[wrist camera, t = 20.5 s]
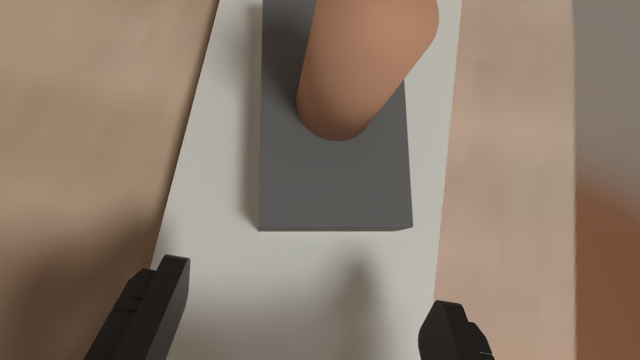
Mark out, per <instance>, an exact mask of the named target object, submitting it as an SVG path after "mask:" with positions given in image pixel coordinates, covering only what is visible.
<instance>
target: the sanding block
mask: <svg viewBox="0 0 640 360" xmlns="http://www.w3.org/2000/svg"><path fill="white" fill-rule="evenodd" d="M438 25H439V10H438V4H437V1H436V0H263V8H262V59H261V110H260V161H259V211H258V231H259V232H395V231H399V230H404V229H408V228H412V227H413V214H412V198H411V181H410V165H409V149H408V132H407V116H406V100H405V83H404V79H405V77H406V76H407V75H408V73H409V72H410V71H411V69H412V68H413V67H414V66H415V64H416V63H417V62H418V60H419V59H420V58H421V57H422V55H423V54H424V53H425V51H426V50H427V49H428V48H429V46H430V45H431V43H432V42H433V40H434V38H435V36H436V33H437V30H438Z"/></svg>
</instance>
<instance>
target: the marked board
mask: <svg viewBox="0 0 640 360" xmlns="http://www.w3.org/2000/svg"><path fill="white" fill-rule="evenodd" d="M436 1H437V4H438V10H439V25H438V30H437V33H436V36H435V38H434V40H433V42H432V43H431V45H430V46H429V48H428V49H427V50H426V51H425V53H424V54H423V55H422V57H421V58H420V59H419V60H418V62H417V63H416V64H415V66H414V67H413V68H412V69H411V71H410V72H409V73H408V75H407V76H406V77H405V79H404V83H405V100H406V116H407V132H408V149H409V165H410V181H411V198H412V214H413V227H412V228H408V229H404V230H399V231H395V232H259V231H258V211H259V161H260V110H261V59H262V8H263V0H220V2H219V5H218V9H217V13H216V17H215V21H214V25H213V28H212V32H211V36H210V40H209V44H208V48H207V51H206V55H205V59H204V63H203V67H202V71H201V74H200V78H199V82H198V86H197V90H196V94H195V97H194V101H193V105H192V109H191V113H190V117H189V120H188V124H187V128H186V132H185V136H184V140H183V143H182V147H181V151H180V155H179V159H178V163H177V166H176V170H175V174H174V178H173V182H172V186H171V190H170V193H169V197H168V201H167V205H166V209H165V213H164V216H163V220H162V224H161V228H160V232H159V236H158V239H157V243H156V247H155V251H154V255H153V259H152V262H151V266H150V270H157V268H158V266H159V264H160V262H161V260H162V258H163V256H164V255H165V254H168V255H174V256H180V257H186V258H190V277H189V292H188V298H187V303H186V306H185V310H184V312H183V315H182V318H181V320H180V323H179V326H178V328H177V331H176V334H175V336H174V339H173V342H172V344H171V347H170V350H169V352H168V355H167V358H166V360H421V358H420V353H419V349H418V334H419V330H420V328H421V326H422V324H423V322H424V320H425V319H426V317H427V315H428V313H429V311H430V309H431V308H432V306H433V297H434V286H435V276H436V266H437V255H438V245H439V235H440V224H441V214H442V203H443V193H444V183H445V172H446V162H447V152H448V141H449V131H450V120H451V110H452V100H453V89H454V79H455V69H456V58H457V48H458V37H459V27H460V17H461V6H462V0H436Z"/></svg>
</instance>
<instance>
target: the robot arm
mask: <svg viewBox="0 0 640 360" xmlns="http://www.w3.org/2000/svg"><path fill="white" fill-rule="evenodd" d="M189 277H190V258H186V257H180V256H174V255H168V254H165V255H164V256H163V258H162V260H161V262H160V264H159V266H158V268H157V270H150V269H144V268H143V269H142V270H141V271H139V272H138V273H137V274H136V275H134V276H133V277H132V278H131V279H130V280H129V281H128V282H127V284H126V286H125V288H124V289H123V291H122V293H121V295H120V298H118V300H117V302H116V304H115V305H114V307H113V310H112V311H111V312H110V314H109V316H108V318H107V319H106V321H105V323H104V325H103V326H102V328H101V330H100V332H99V333H98V335H97V337H96V339H95V340H94V342H93V344H92V346H91V348H90V349H89V351H88V353H87V355H86V356H85V358H84V359H83V360H166V358H167V355H168V352H169V350H170V347H171V344H172V342H173V339H174V336H175V334H176V331H177V328H178V326H179V323H180V320H181V318H182V315H183V312H184V310H185V306H186V303H187V298H188V292H189ZM418 349H419V353H420V358H421V360H495V359H494V357H493V356H492V352H491V349H490V346H489V344H488V341H487V339H486V337H485V336H484V334H483V333H482V332H481V330H480V329H479V328H478V327H477V325H476V324H475V323H473V322H468V319H467V317H466V314H465V311H464V309H463V307H462V305H461V304H458V303H452V302H446V301H440V300H437V301H435V302H434V304H433V306H432V308H431V309H430V311H429V313H428V315H427V317H426V319H425V320H424V322H423V324H422V326H421V328H420V330H419V334H418Z"/></svg>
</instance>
